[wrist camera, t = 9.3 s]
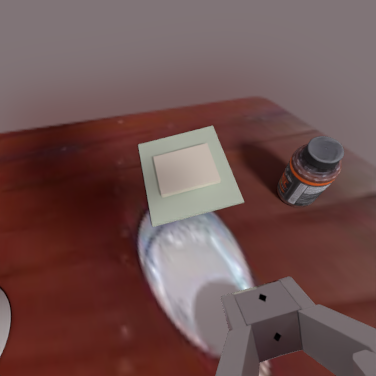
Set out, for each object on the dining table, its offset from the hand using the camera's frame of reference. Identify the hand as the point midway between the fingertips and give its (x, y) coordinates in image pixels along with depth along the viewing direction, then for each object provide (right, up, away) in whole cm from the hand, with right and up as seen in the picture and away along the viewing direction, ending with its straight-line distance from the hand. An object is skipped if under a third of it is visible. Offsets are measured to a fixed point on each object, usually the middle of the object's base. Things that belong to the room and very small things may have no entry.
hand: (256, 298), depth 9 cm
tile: (-2, +4, +28) cm, 28 cm away
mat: (-3, +7, +31) cm, 32 cm away
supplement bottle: (+14, +4, +27) cm, 31 cm away
